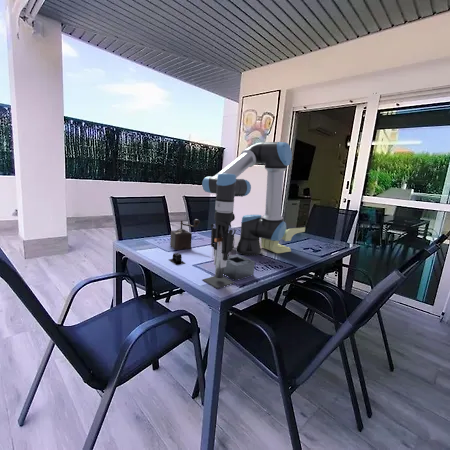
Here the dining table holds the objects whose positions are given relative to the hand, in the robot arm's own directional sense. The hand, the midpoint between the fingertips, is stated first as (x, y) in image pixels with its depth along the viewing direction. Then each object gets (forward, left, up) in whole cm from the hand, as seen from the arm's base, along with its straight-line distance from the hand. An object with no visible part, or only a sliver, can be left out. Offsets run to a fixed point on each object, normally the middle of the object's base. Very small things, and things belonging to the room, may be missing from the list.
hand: (219, 265), depth 112 cm
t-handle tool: (0, 0, -5) cm, 5 cm away
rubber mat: (0, 0, -8) cm, 8 cm away
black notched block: (+2, -31, -8) cm, 32 cm away
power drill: (-35, -34, -8) cm, 49 cm away
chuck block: (-13, -3, -8) cm, 15 cm away
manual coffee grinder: (-16, -52, -8) cm, 55 cm away
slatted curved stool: (-65, -20, -8) cm, 68 cm away
